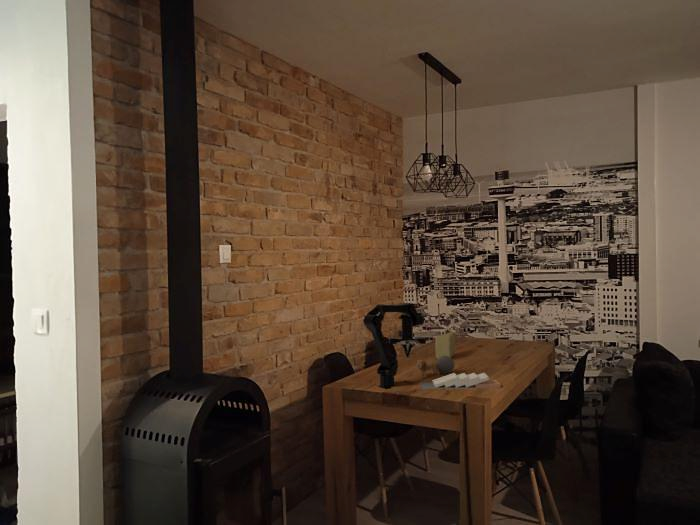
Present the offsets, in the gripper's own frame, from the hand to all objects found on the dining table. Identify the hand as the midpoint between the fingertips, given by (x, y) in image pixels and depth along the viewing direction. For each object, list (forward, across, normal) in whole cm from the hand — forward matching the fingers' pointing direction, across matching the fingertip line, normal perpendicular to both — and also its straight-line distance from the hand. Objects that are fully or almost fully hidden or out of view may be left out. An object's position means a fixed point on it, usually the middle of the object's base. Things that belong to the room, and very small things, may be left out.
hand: (407, 357), depth 296 cm
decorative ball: (+13, -22, -20) cm, 33 cm away
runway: (+13, -22, +10) cm, 27 cm away
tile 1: (+12, -12, +10) cm, 20 cm away
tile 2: (+12, -17, +10) cm, 23 cm away
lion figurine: (+13, -12, -16) cm, 24 cm away
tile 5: (+12, -32, +10) cm, 36 cm away
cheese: (+13, -31, -71) cm, 78 cm away
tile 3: (+12, -22, +10) cm, 27 cm away
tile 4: (+12, -27, +10) cm, 31 cm away
